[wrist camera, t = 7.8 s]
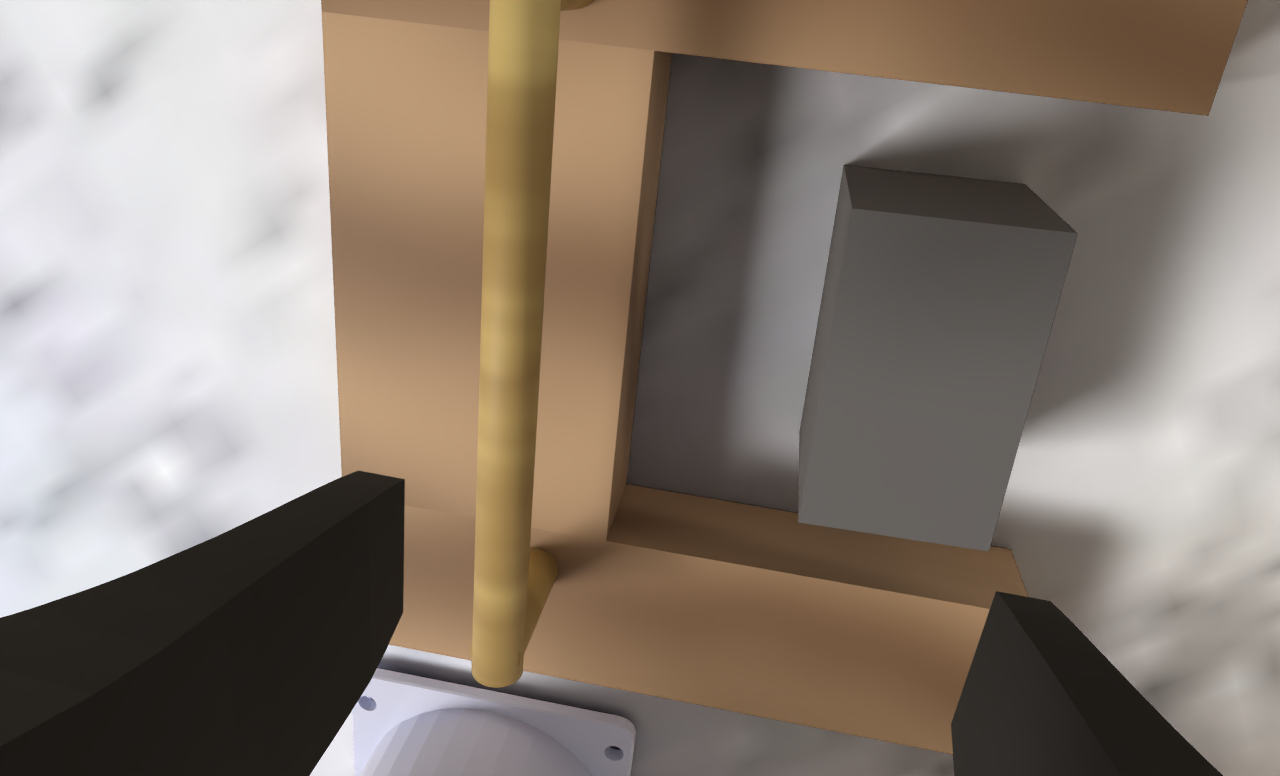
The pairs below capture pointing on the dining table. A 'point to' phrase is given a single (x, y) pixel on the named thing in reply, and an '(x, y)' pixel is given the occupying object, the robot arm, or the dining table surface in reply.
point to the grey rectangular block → (927, 353)
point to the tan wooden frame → (612, 335)
